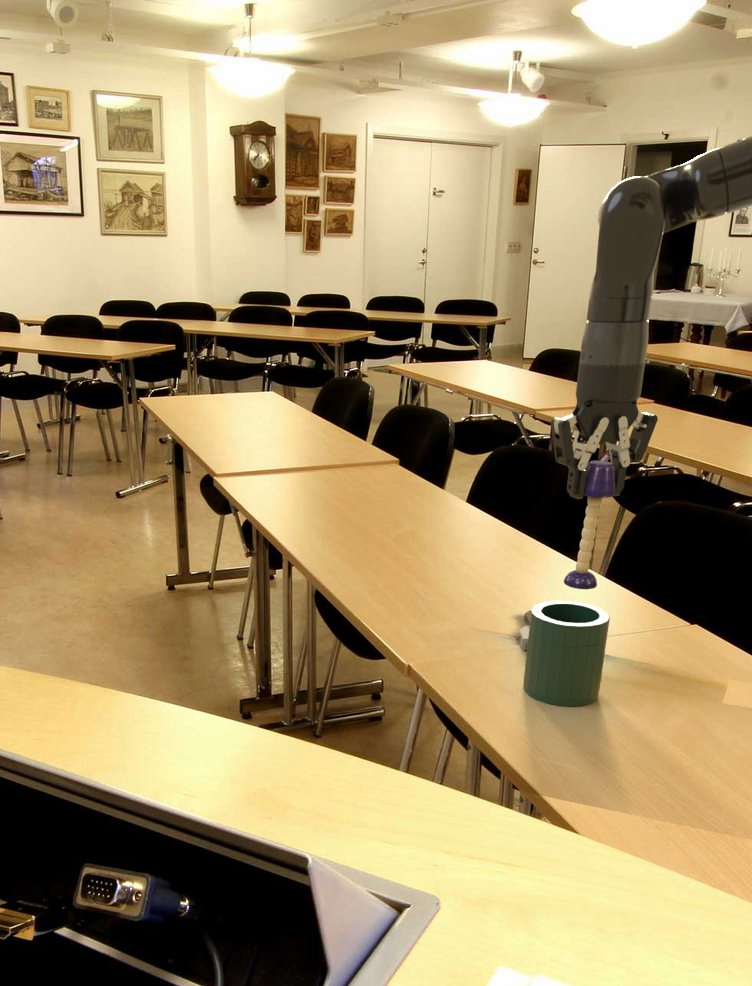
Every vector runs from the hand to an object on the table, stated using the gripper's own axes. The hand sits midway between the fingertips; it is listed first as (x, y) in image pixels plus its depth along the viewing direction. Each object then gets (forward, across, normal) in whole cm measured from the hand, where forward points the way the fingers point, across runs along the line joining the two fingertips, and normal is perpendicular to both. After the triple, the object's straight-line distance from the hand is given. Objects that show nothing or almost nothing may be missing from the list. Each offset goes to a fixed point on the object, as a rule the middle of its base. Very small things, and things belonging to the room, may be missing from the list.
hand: (594, 495), depth 118 cm
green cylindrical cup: (+29, 0, +2) cm, 29 cm away
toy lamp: (+13, 0, 0) cm, 13 cm away
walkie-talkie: (+29, +7, +17) cm, 34 cm away
